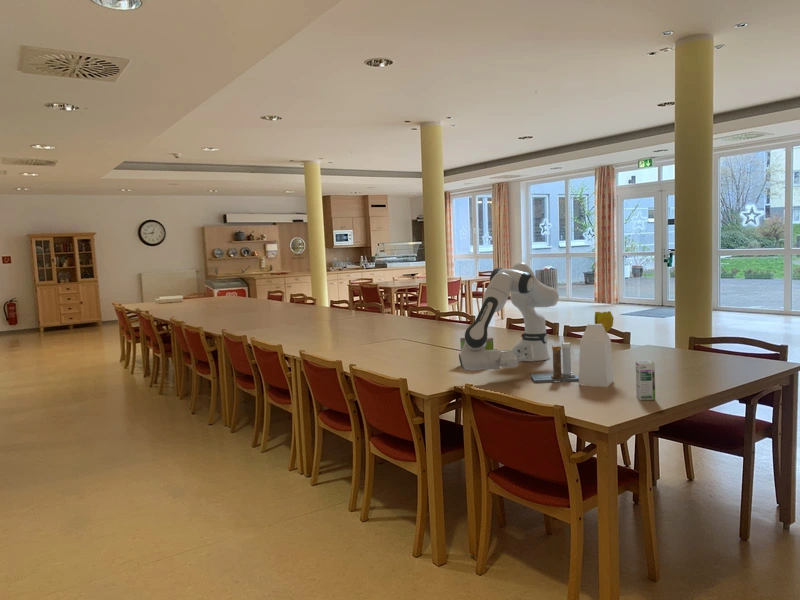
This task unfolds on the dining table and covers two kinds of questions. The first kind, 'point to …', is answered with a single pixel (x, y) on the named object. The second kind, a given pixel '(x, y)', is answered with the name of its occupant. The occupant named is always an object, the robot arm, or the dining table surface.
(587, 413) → the dining table surface
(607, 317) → the flower
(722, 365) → the dining table surface
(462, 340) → the tea box
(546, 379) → the control board
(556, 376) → the walnut lever
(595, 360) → the milk
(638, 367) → the syrup box
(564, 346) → the grey lever
